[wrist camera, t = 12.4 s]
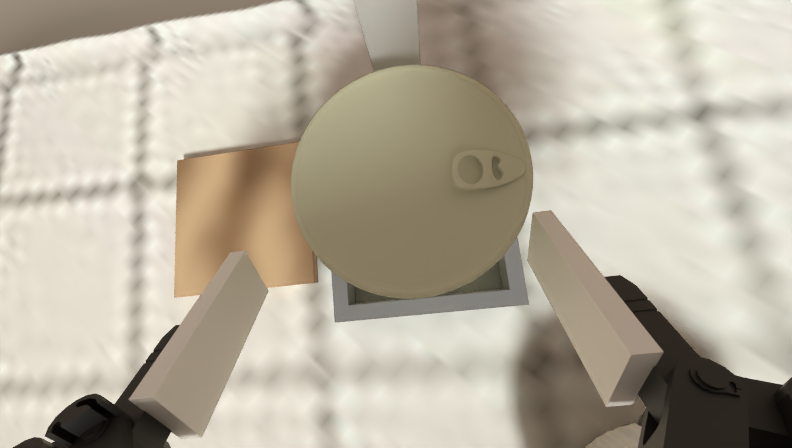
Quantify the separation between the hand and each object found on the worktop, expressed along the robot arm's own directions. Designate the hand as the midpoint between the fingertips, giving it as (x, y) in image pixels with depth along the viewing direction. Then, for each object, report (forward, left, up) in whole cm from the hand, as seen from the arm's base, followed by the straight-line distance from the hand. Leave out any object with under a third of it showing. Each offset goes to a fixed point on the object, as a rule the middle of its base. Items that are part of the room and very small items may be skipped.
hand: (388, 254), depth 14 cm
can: (-1, -3, -8) cm, 9 cm away
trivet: (+12, -5, -8) cm, 15 cm away
